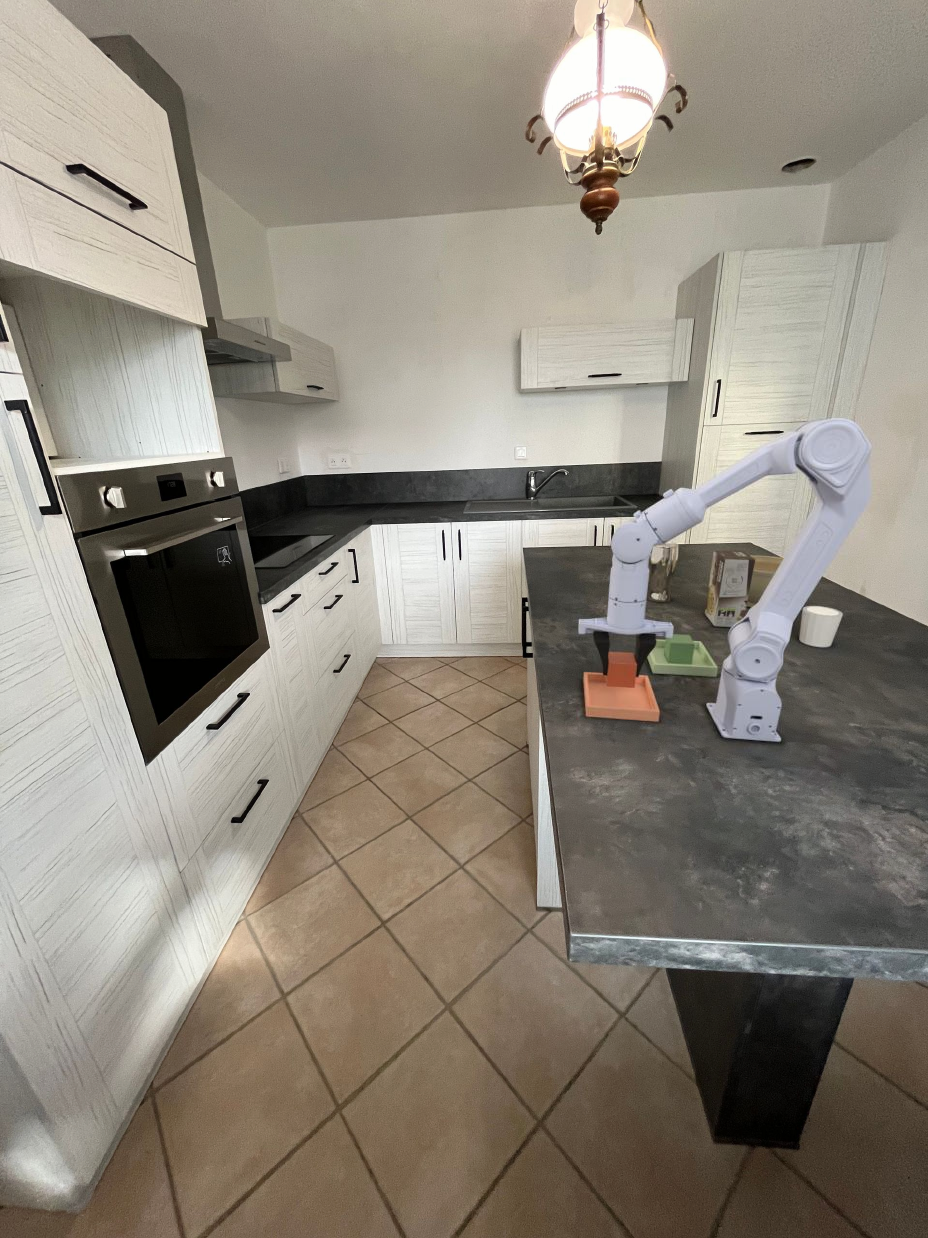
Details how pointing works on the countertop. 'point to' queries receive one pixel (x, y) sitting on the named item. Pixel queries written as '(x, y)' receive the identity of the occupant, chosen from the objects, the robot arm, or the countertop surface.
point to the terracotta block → (621, 670)
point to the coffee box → (729, 587)
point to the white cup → (819, 625)
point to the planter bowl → (762, 577)
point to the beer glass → (662, 571)
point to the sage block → (679, 649)
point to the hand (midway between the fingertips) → (620, 673)
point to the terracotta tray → (619, 699)
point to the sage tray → (699, 666)
